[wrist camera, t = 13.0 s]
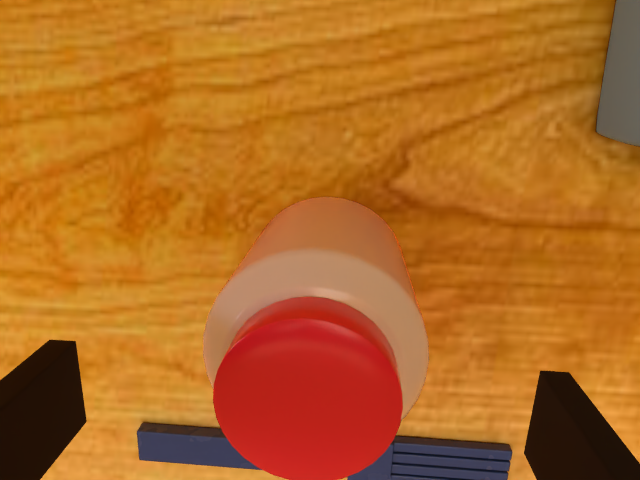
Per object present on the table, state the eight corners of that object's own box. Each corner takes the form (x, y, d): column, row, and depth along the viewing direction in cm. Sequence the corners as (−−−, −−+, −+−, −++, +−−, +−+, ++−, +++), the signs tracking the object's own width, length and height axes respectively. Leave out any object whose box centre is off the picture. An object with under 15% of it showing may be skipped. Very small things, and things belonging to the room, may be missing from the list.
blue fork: (145, 456, 28) (139, 466, 28) (141, 416, 27) (135, 425, 27) (502, 485, 27) (506, 496, 26) (509, 444, 26) (514, 454, 26)
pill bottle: (436, 252, 23) (502, 379, 13) (347, 365, 26) (342, 552, 15) (304, 165, 23) (261, 223, 12) (224, 288, 25) (128, 429, 14)
